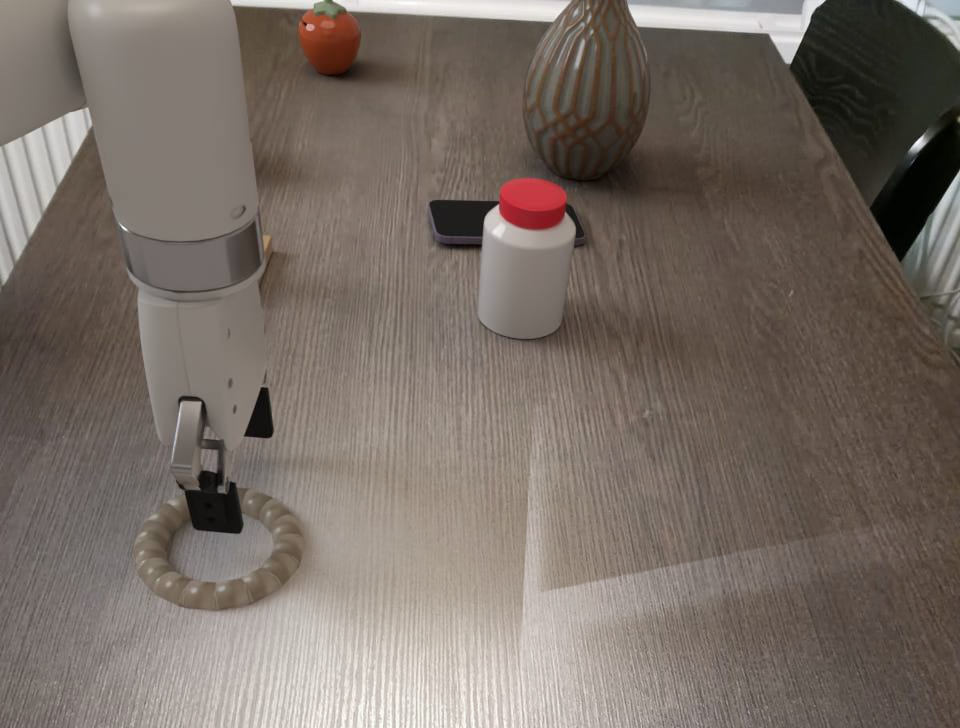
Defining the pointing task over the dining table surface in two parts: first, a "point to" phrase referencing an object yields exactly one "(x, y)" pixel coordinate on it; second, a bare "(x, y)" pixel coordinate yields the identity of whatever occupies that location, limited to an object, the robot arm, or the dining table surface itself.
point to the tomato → (329, 37)
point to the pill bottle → (526, 260)
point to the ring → (224, 593)
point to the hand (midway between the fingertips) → (236, 479)
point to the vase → (587, 89)
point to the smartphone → (473, 220)
